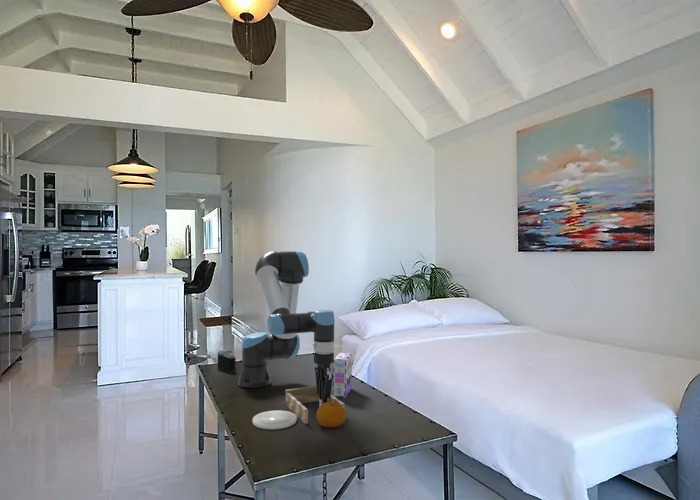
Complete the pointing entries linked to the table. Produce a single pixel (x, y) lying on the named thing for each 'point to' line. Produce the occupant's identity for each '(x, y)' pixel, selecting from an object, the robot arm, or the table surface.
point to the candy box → (342, 375)
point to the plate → (274, 420)
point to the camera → (226, 360)
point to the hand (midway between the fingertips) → (323, 415)
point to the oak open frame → (304, 400)
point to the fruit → (331, 414)
